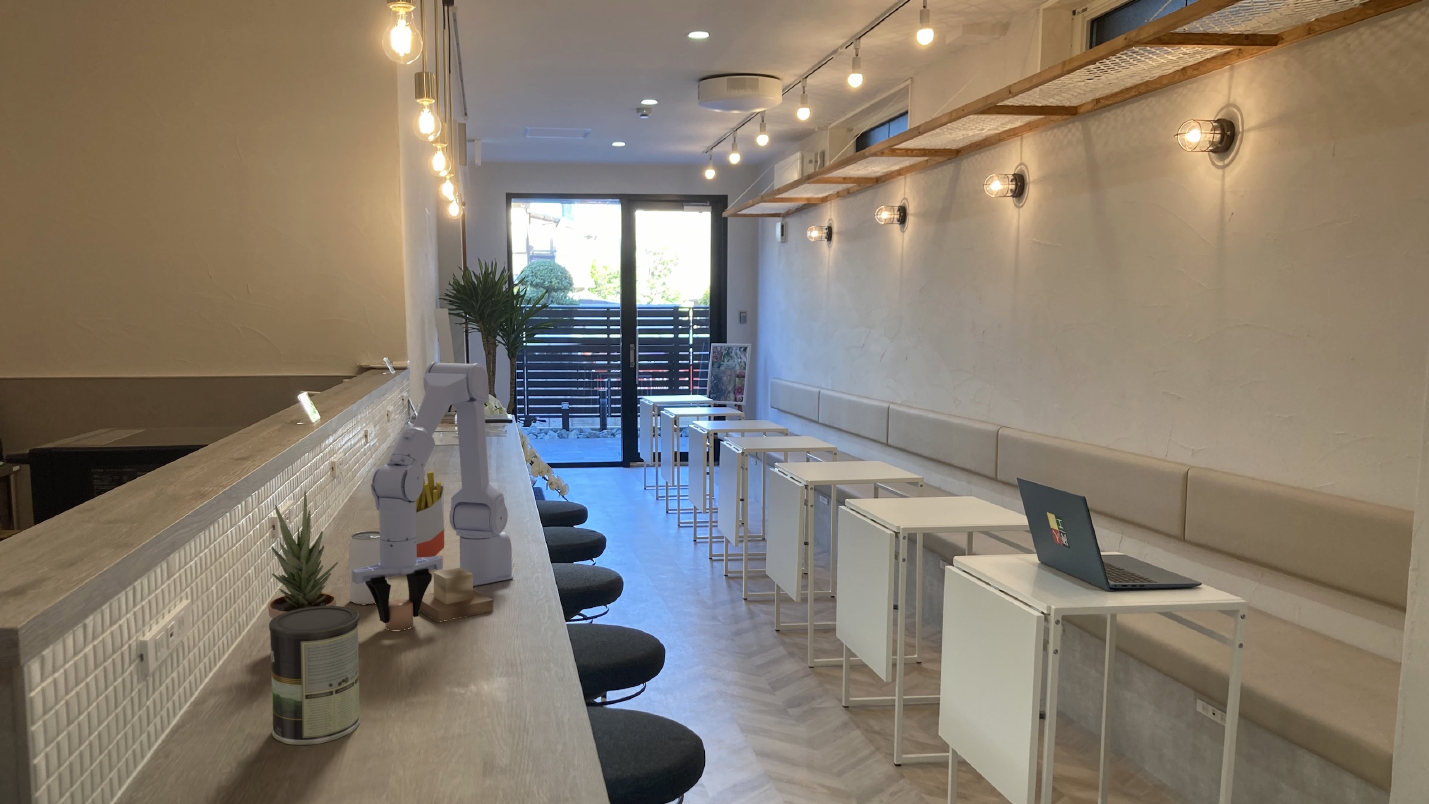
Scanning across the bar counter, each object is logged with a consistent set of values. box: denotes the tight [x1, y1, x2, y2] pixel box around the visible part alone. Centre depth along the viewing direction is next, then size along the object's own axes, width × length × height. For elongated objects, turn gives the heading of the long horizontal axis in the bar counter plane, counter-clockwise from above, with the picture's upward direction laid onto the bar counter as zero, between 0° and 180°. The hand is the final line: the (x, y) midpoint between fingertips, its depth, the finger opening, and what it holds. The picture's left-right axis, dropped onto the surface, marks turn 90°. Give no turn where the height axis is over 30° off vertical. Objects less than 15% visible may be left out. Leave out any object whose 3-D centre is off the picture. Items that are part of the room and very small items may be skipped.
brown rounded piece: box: [384, 598, 414, 631], centre depth 156 cm, size 4×4×4 cm
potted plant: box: [267, 490, 339, 620], centre depth 145 cm, size 10×10×25 cm
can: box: [348, 530, 389, 605], centre depth 169 cm, size 6×6×12 cm
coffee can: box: [268, 605, 361, 746], centre depth 118 cm, size 10×10×14 cm
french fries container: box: [416, 471, 445, 558], centre depth 197 cm, size 5×11×18 cm, turn 108°
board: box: [419, 589, 494, 623], centre depth 165 cm, size 10×10×2 cm
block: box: [433, 567, 474, 604], centre depth 165 cm, size 5×5×4 cm
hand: (399, 618), depth 156 cm, fingers closed on brown rounded piece, 4 cm apart
